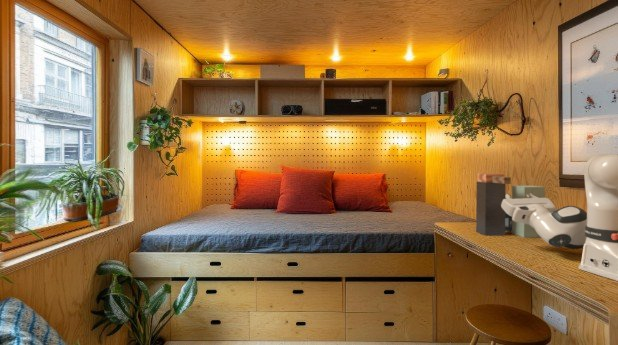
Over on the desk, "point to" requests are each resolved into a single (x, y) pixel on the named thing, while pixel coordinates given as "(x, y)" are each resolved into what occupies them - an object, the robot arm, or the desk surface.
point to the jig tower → (490, 208)
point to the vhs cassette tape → (508, 222)
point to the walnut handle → (494, 178)
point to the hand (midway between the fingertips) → (517, 195)
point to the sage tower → (520, 193)
